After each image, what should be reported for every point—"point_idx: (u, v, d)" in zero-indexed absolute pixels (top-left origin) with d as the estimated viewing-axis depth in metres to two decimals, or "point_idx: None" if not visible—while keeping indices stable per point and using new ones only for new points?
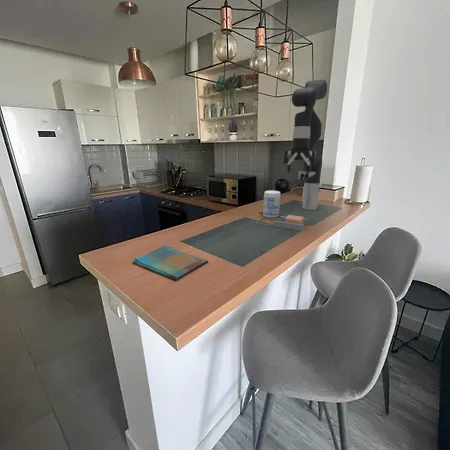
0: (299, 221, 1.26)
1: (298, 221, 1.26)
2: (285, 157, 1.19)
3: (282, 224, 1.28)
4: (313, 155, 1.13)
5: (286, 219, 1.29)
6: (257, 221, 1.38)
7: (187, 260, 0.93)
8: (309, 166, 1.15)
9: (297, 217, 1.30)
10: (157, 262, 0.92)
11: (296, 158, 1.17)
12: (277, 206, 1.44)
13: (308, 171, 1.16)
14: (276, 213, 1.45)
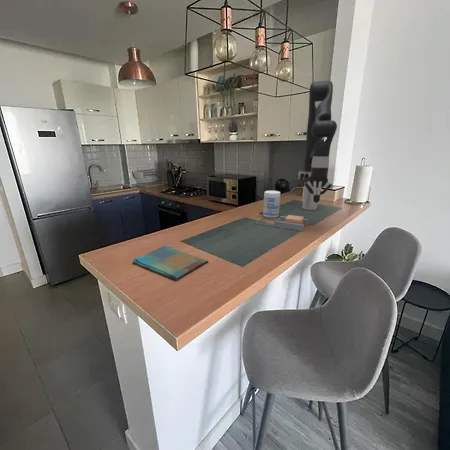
0: (299, 221, 1.26)
1: (298, 221, 1.26)
2: (308, 188, 1.21)
3: (282, 224, 1.28)
4: (327, 188, 1.17)
5: (286, 219, 1.29)
6: (257, 221, 1.38)
7: (187, 260, 0.93)
8: (319, 196, 1.20)
9: (297, 217, 1.30)
10: (157, 262, 0.92)
11: (318, 185, 1.19)
12: (277, 206, 1.44)
13: (317, 200, 1.21)
14: (276, 213, 1.45)
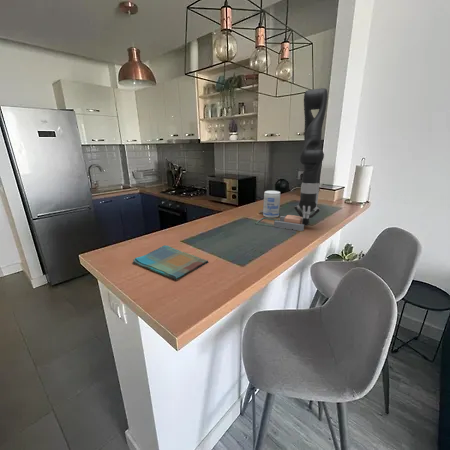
0: (298, 221, 1.26)
1: (297, 220, 1.26)
2: (298, 212, 1.27)
3: (282, 224, 1.28)
4: (316, 212, 1.23)
5: (285, 219, 1.29)
6: (257, 221, 1.38)
7: (187, 260, 0.93)
8: (308, 219, 1.26)
9: (296, 217, 1.30)
10: (157, 262, 0.92)
11: (307, 209, 1.25)
12: (277, 206, 1.44)
13: (307, 223, 1.27)
14: (276, 213, 1.45)
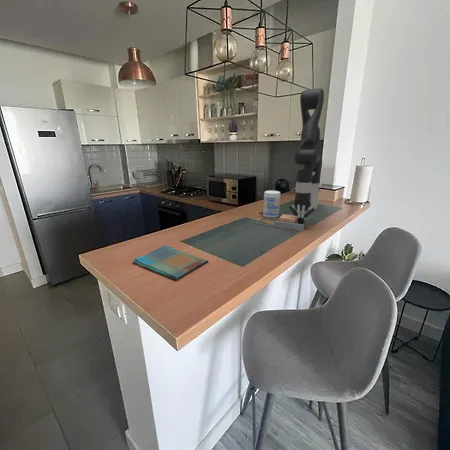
0: (293, 220, 1.27)
1: (292, 220, 1.27)
2: (293, 211, 1.28)
3: (282, 224, 1.28)
4: (310, 211, 1.24)
5: (280, 218, 1.30)
6: (257, 221, 1.38)
7: (187, 260, 0.93)
8: (302, 218, 1.27)
9: (291, 216, 1.31)
10: (157, 262, 0.92)
11: (301, 208, 1.26)
12: (277, 206, 1.44)
13: (302, 222, 1.28)
14: (276, 213, 1.45)
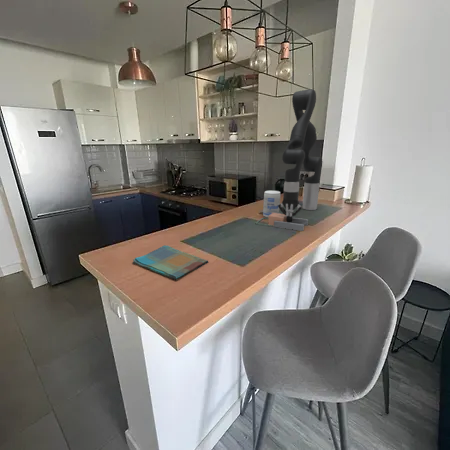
0: (282, 219, 1.30)
1: (280, 218, 1.30)
2: (281, 210, 1.31)
3: (282, 224, 1.28)
4: (298, 210, 1.26)
5: (269, 217, 1.33)
6: (257, 221, 1.38)
7: (187, 260, 0.93)
8: (291, 217, 1.30)
9: (280, 215, 1.34)
10: (157, 262, 0.92)
11: (290, 207, 1.28)
12: (277, 206, 1.44)
13: (290, 221, 1.31)
14: None
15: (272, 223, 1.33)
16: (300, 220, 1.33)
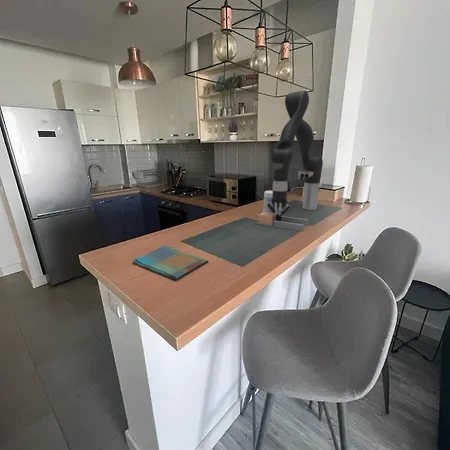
0: (271, 217, 1.33)
1: (270, 217, 1.33)
2: (270, 208, 1.33)
3: (282, 224, 1.28)
4: (287, 209, 1.29)
5: (259, 215, 1.36)
6: (257, 221, 1.38)
7: (187, 260, 0.93)
8: (280, 215, 1.33)
9: (270, 214, 1.37)
10: (157, 262, 0.92)
11: (278, 206, 1.31)
12: None
13: (279, 219, 1.33)
14: None
15: (262, 222, 1.36)
16: (300, 220, 1.33)
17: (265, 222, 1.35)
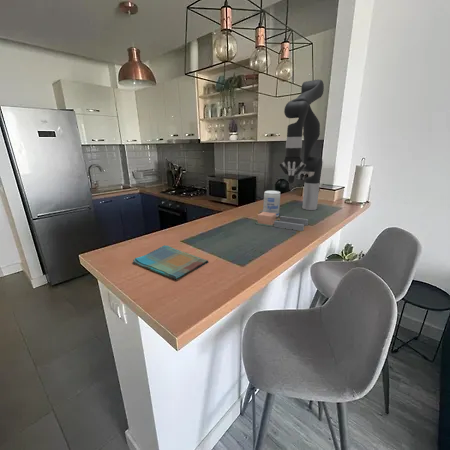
0: (270, 217, 1.32)
1: (269, 217, 1.33)
2: (283, 169, 1.24)
3: (282, 224, 1.28)
4: (301, 168, 1.20)
5: (259, 215, 1.36)
6: (257, 221, 1.38)
7: (187, 260, 0.93)
8: (293, 176, 1.24)
9: (270, 214, 1.37)
10: (157, 262, 0.92)
11: (292, 165, 1.22)
12: (277, 206, 1.44)
13: (292, 181, 1.24)
14: (276, 213, 1.45)
15: (261, 222, 1.36)
16: (300, 220, 1.33)
17: (265, 222, 1.35)
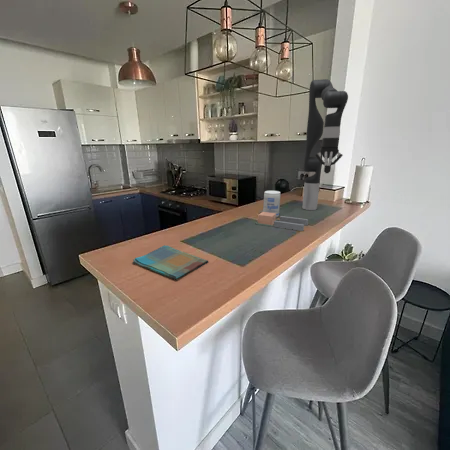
0: (271, 217, 1.32)
1: (269, 217, 1.33)
2: (319, 159, 1.25)
3: (282, 224, 1.28)
4: (338, 158, 1.21)
5: (259, 216, 1.35)
6: (257, 221, 1.38)
7: (187, 260, 0.93)
8: (329, 166, 1.24)
9: (270, 214, 1.37)
10: (157, 262, 0.92)
11: (328, 155, 1.23)
12: (277, 206, 1.44)
13: (328, 171, 1.25)
14: (276, 213, 1.45)
15: (261, 222, 1.36)
16: (300, 220, 1.33)
17: (265, 222, 1.35)
